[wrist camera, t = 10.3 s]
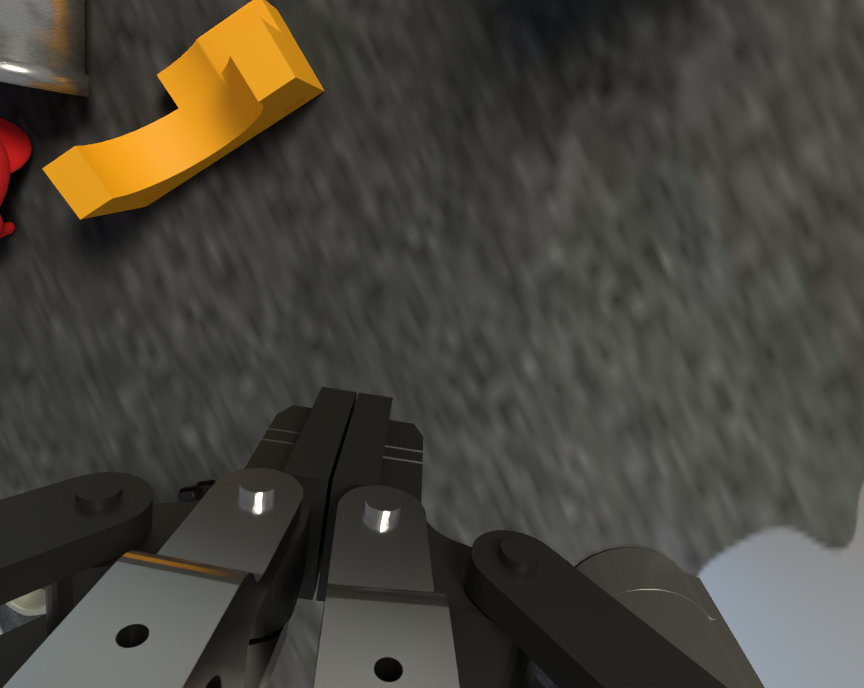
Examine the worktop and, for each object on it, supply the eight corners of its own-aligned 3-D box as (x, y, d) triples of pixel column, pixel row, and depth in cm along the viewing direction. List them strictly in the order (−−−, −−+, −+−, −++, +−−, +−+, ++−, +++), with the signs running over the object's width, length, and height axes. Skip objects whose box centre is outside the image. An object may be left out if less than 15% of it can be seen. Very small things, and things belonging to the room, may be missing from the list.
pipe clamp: (278, 11, 30) (235, -25, 24) (325, 91, 31) (295, 77, 25) (97, 135, 32) (15, 132, 26) (147, 206, 33) (80, 219, 27)
